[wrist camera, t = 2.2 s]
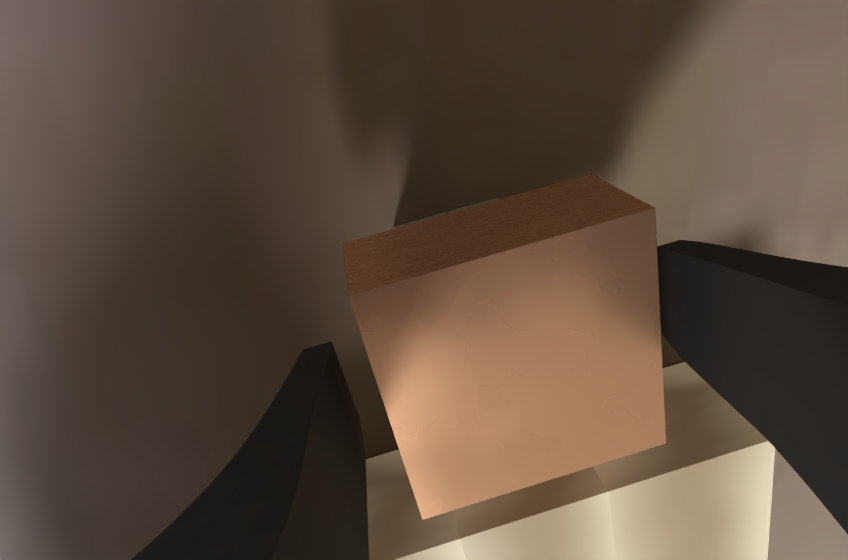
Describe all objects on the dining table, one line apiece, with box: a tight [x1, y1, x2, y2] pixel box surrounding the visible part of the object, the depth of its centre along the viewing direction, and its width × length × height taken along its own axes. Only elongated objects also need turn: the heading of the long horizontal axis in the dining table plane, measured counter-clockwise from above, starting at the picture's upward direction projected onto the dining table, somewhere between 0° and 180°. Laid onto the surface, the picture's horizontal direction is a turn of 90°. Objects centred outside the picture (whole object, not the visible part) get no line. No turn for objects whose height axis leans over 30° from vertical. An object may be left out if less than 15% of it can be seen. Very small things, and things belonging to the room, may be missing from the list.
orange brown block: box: [343, 174, 666, 520], centre depth 13 cm, size 5×5×6 cm
